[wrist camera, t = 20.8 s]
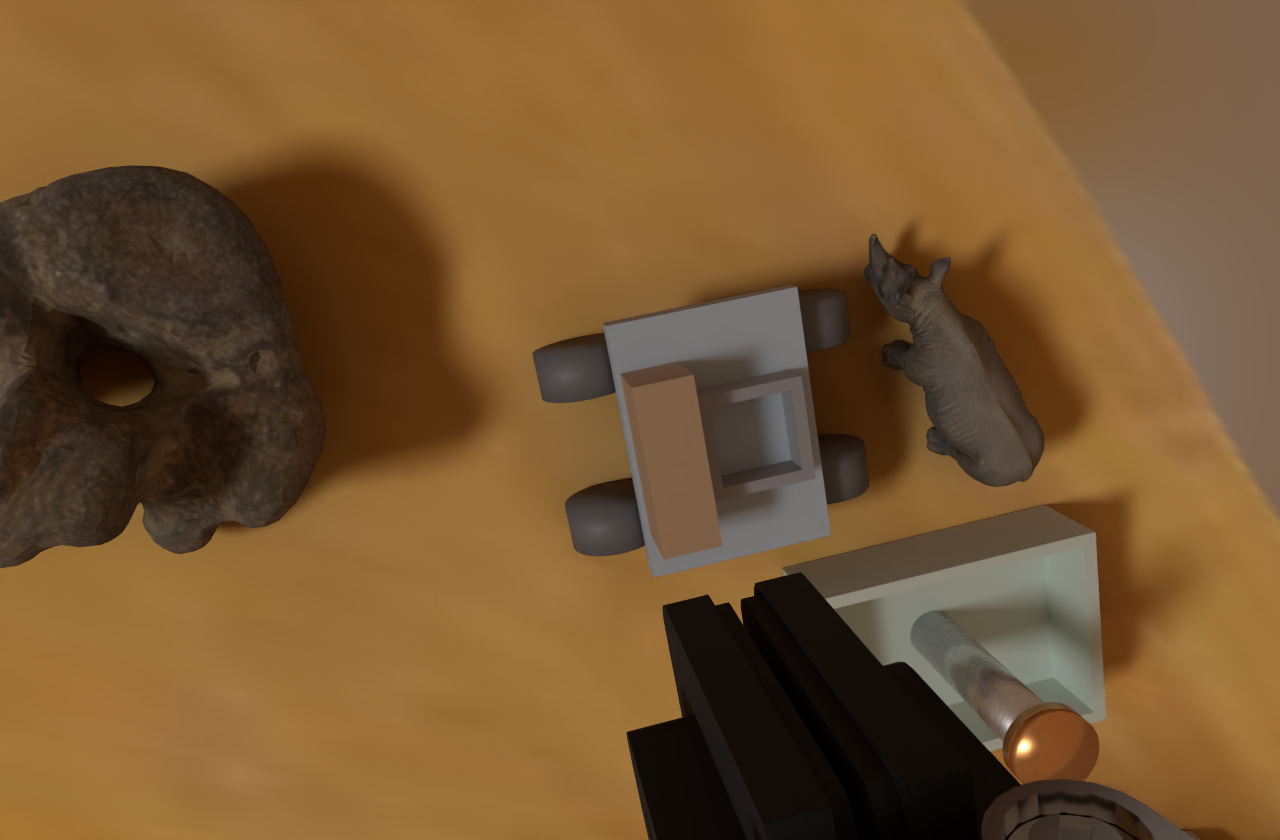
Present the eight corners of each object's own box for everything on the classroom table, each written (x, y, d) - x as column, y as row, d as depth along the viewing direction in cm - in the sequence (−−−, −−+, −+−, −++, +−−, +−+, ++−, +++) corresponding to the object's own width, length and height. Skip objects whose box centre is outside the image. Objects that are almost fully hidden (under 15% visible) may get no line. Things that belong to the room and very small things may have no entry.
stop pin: (968, 654, 48) (1102, 781, 38) (903, 672, 48) (1019, 805, 37) (961, 592, 47) (1095, 704, 37) (894, 609, 47) (1011, 728, 37)
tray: (1057, 679, 50) (1106, 719, 46) (809, 745, 49) (837, 793, 45) (1045, 504, 48) (1095, 531, 44) (782, 568, 46) (810, 602, 42)
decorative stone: (419, 289, 35) (208, 669, 31) (378, 339, 45) (215, 630, 41) (-28, 33, 30) (-346, 446, 26) (39, 153, 40) (-183, 464, 36)
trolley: (851, 486, 46) (926, 543, 38) (573, 551, 44) (593, 625, 36) (823, 264, 43) (898, 278, 35) (525, 325, 41) (536, 353, 34)
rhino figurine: (887, 204, 43) (950, 204, 37) (1012, 440, 47) (1086, 473, 41) (814, 253, 43) (865, 261, 37) (944, 485, 47) (1009, 525, 41)
